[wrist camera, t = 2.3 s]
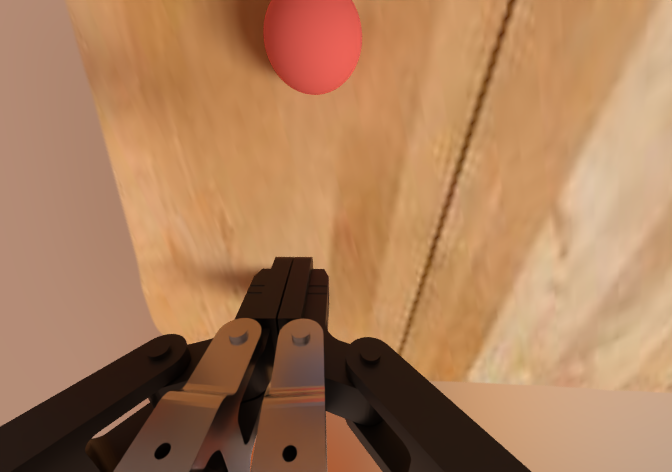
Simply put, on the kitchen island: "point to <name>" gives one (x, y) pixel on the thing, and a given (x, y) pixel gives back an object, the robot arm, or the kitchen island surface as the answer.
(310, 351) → the robot arm
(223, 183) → the kitchen island surface
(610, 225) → the kitchen island surface
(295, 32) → the ball
